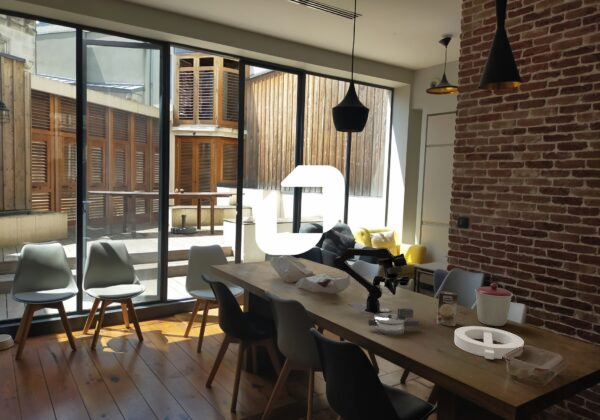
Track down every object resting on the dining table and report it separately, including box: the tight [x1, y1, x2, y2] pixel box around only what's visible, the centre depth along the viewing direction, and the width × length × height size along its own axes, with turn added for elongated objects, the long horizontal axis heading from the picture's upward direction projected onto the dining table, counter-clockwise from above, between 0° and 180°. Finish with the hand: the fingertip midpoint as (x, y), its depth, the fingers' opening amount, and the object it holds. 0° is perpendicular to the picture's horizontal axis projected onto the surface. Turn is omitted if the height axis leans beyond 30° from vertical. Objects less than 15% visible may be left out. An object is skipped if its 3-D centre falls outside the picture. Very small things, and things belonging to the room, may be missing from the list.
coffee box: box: [436, 290, 458, 327], centre depth 224 cm, size 9×6×16 cm
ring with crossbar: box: [453, 325, 525, 360], centre depth 194 cm, size 28×28×5 cm
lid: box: [373, 307, 414, 324], centre depth 211 cm, size 15×19×5 cm
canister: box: [474, 282, 514, 327], centre depth 227 cm, size 18×18×21 cm
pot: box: [367, 319, 419, 336], centre depth 211 cm, size 14×24×5 cm, turn 97°
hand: (394, 294), depth 228 cm, fingers closed
